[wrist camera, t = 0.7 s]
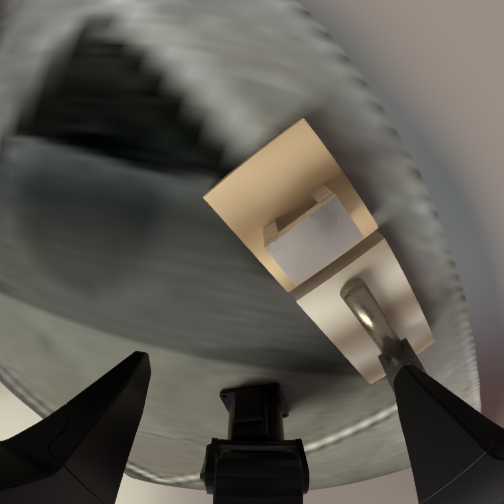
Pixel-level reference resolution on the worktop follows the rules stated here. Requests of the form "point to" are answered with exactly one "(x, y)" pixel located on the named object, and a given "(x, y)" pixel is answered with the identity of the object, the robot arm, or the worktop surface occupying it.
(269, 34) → the worktop surface
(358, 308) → the bolt
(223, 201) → the door jamb
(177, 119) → the worktop surface
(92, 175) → the worktop surface
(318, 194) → the keeper
